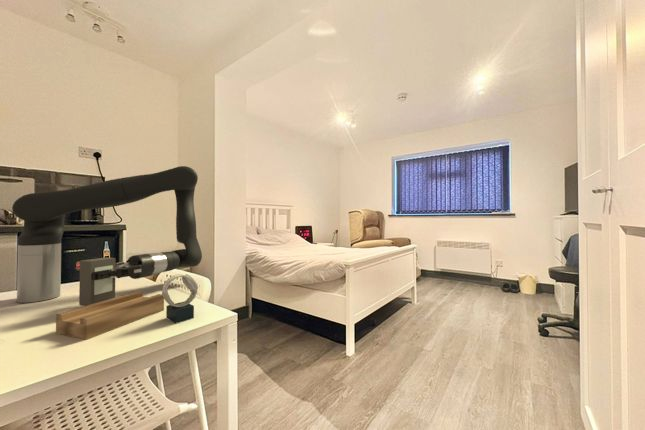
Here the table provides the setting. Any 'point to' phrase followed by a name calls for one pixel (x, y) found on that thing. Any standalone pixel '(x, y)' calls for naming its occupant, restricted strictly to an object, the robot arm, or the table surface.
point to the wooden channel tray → (107, 315)
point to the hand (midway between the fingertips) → (87, 275)
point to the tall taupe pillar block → (96, 281)
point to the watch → (182, 309)
